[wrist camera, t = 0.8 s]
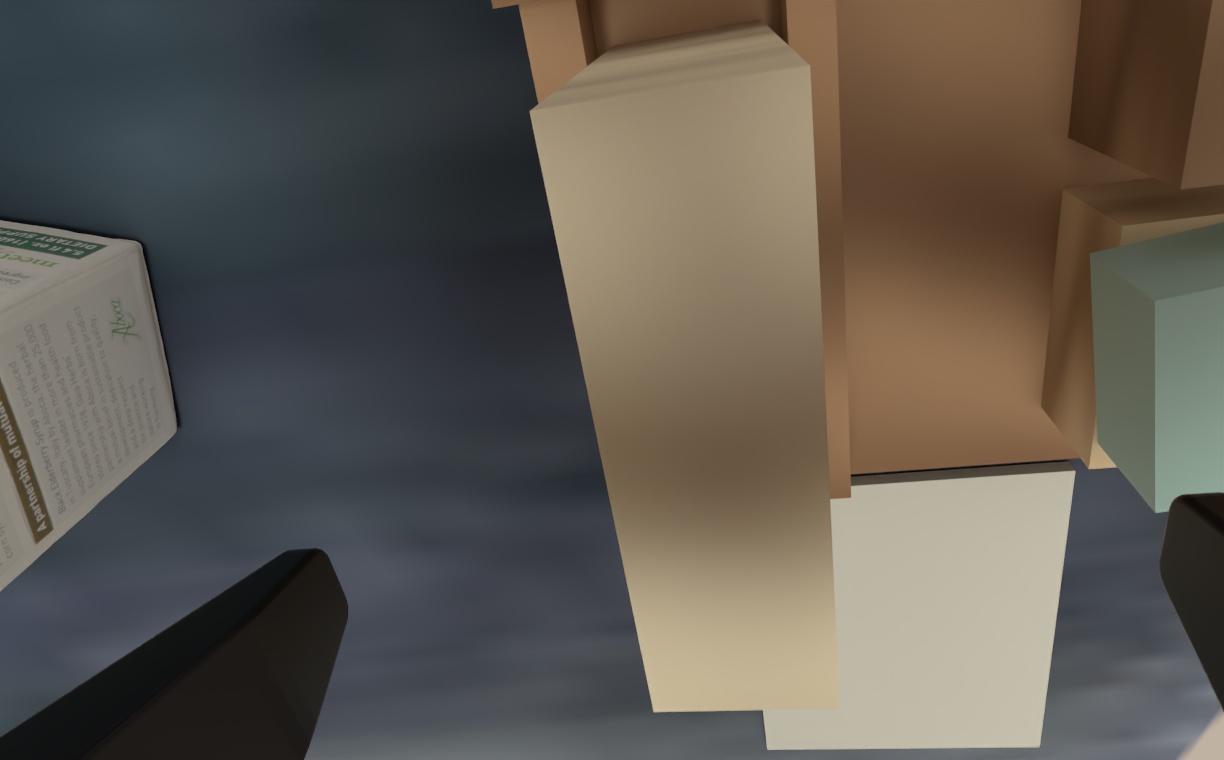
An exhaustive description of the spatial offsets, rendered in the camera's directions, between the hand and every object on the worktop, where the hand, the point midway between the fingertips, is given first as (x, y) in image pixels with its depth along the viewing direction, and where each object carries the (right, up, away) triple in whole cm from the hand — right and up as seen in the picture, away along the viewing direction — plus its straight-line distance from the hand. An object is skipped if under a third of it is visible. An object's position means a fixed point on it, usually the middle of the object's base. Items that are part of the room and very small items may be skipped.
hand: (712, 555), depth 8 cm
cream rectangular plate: (+7, -5, +13) cm, 16 cm away
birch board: (+1, +5, +8) cm, 10 cm away
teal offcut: (+9, +3, +5) cm, 11 cm away
